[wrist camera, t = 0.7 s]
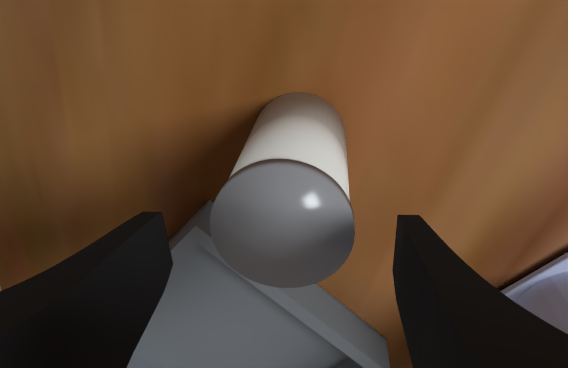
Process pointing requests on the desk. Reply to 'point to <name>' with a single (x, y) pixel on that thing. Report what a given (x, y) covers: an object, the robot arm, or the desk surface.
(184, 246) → the tray
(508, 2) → the desk surface
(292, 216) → the shaker
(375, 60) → the desk surface
